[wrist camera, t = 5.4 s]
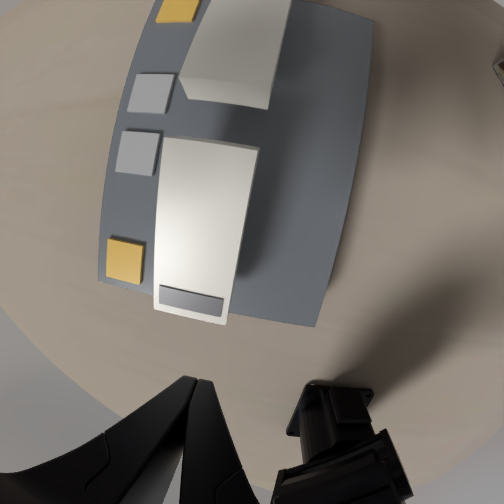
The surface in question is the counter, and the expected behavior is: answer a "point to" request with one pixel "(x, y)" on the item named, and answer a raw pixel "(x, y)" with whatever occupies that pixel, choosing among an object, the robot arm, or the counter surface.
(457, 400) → the counter surface
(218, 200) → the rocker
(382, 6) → the counter surface
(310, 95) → the switch unit
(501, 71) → the coffee box
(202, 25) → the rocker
